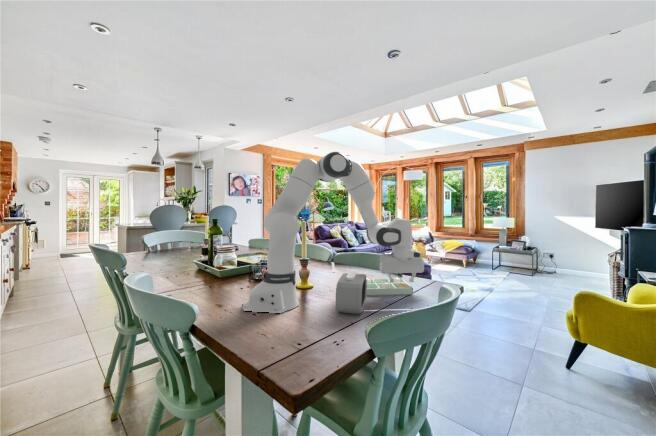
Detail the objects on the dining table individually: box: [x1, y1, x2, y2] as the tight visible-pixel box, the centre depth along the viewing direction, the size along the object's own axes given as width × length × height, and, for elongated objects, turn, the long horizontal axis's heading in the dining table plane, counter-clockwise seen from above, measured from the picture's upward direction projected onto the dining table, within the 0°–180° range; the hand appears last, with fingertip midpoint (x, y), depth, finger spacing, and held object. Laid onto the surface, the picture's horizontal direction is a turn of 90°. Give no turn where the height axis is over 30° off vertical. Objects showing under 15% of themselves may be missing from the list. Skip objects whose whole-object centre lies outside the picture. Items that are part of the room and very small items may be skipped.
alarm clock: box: [335, 272, 368, 315], centre depth 111 cm, size 21×10×13 cm, turn 166°
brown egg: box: [398, 282, 408, 288], centre depth 129 cm, size 4×4×4 cm
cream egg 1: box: [381, 282, 391, 288], centre depth 128 cm, size 4×4×4 cm
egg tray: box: [366, 278, 414, 296], centre depth 132 cm, size 23×16×4 cm
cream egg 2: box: [393, 277, 401, 283], centre depth 136 cm, size 4×4×4 cm
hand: (401, 282), depth 129 cm, fingers open, 8 cm apart
